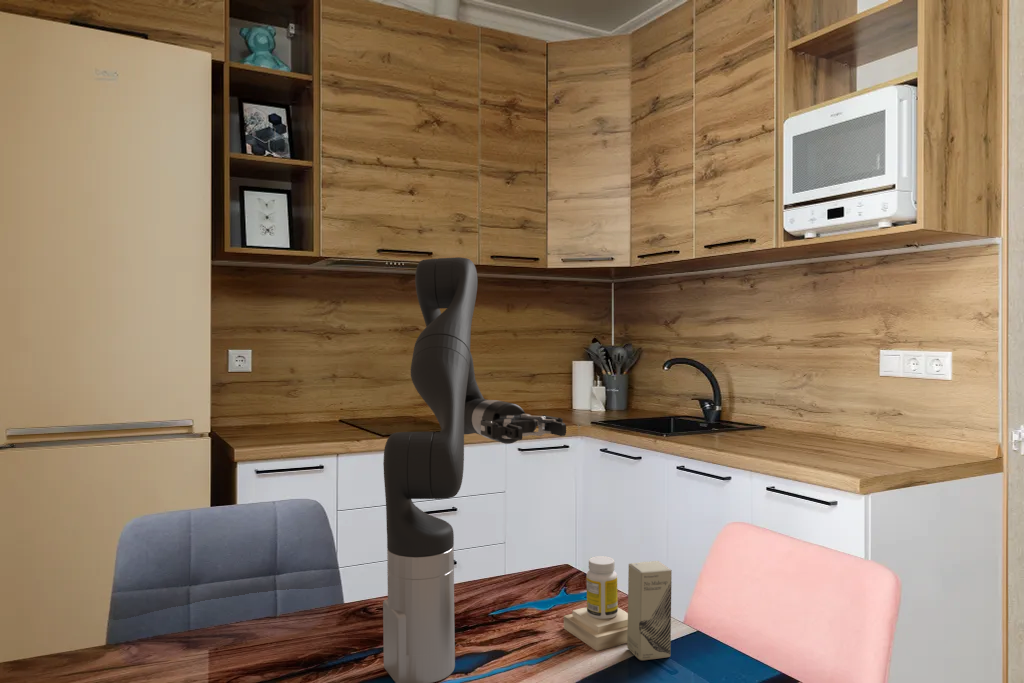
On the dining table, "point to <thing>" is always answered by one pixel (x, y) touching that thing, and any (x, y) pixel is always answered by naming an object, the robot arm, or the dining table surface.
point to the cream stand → (597, 628)
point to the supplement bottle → (602, 588)
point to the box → (649, 610)
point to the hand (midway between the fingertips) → (542, 431)
